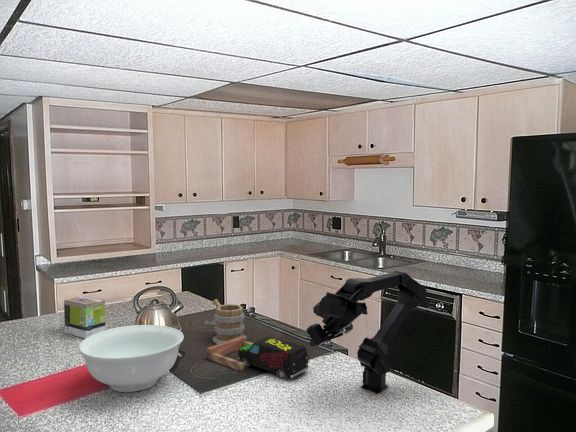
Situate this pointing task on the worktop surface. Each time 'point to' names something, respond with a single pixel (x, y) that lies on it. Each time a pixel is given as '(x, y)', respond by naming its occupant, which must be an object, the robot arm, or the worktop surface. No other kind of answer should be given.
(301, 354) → the toy van
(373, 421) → the worktop surface
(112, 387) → the bowl
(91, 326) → the tea box
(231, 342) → the wooden corner rails
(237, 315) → the tankard
